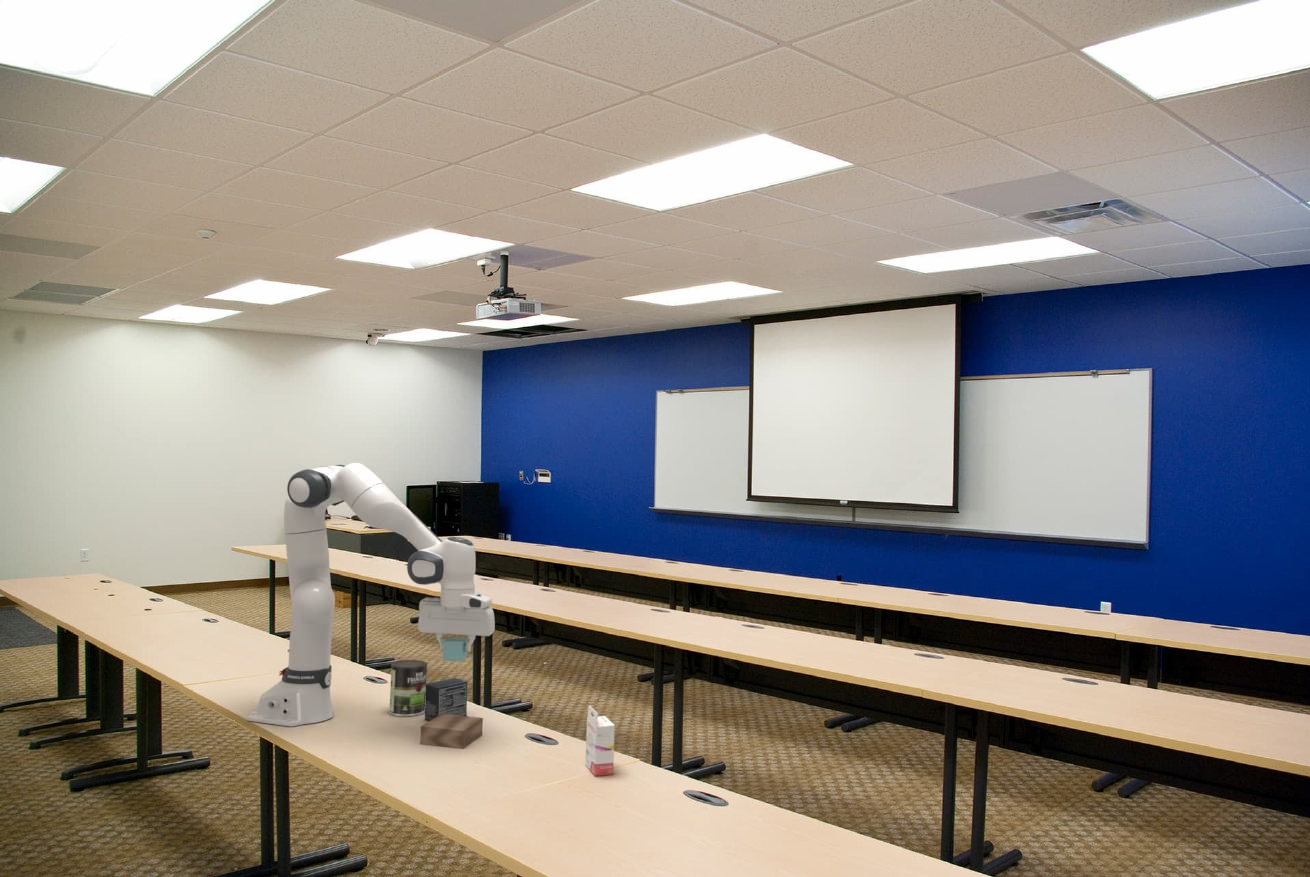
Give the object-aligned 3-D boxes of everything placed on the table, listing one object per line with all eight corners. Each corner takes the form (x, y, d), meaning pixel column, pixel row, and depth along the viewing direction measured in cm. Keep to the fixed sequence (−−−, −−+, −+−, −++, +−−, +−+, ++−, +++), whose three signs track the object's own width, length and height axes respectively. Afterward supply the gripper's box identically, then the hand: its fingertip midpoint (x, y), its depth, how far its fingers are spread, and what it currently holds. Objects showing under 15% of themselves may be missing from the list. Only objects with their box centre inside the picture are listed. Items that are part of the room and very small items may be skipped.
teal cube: (442, 660, 224) (443, 641, 225) (449, 656, 229) (449, 637, 230) (461, 661, 224) (461, 642, 224) (467, 657, 229) (467, 638, 229)
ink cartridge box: (614, 774, 204) (616, 712, 204) (594, 776, 202) (596, 714, 203) (603, 763, 212) (605, 703, 212) (584, 764, 210) (586, 704, 211)
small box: (453, 712, 251) (455, 676, 251) (467, 717, 247) (469, 680, 247) (423, 720, 242) (424, 682, 243) (437, 725, 238) (438, 687, 239)
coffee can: (432, 711, 251) (434, 663, 251) (403, 719, 243) (405, 669, 243) (410, 705, 257) (412, 658, 258) (381, 712, 249) (383, 663, 249)
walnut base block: (420, 745, 221) (420, 726, 221) (441, 732, 233) (441, 713, 233) (462, 750, 219) (463, 730, 219) (482, 736, 230) (482, 717, 231)
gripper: (415, 598, 225) (413, 651, 225) (490, 602, 223) (488, 655, 223) (424, 595, 231) (421, 646, 231) (497, 598, 229) (495, 650, 229)
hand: (455, 651), depth 227 cm, fingers closed on teal cube, 5 cm apart
